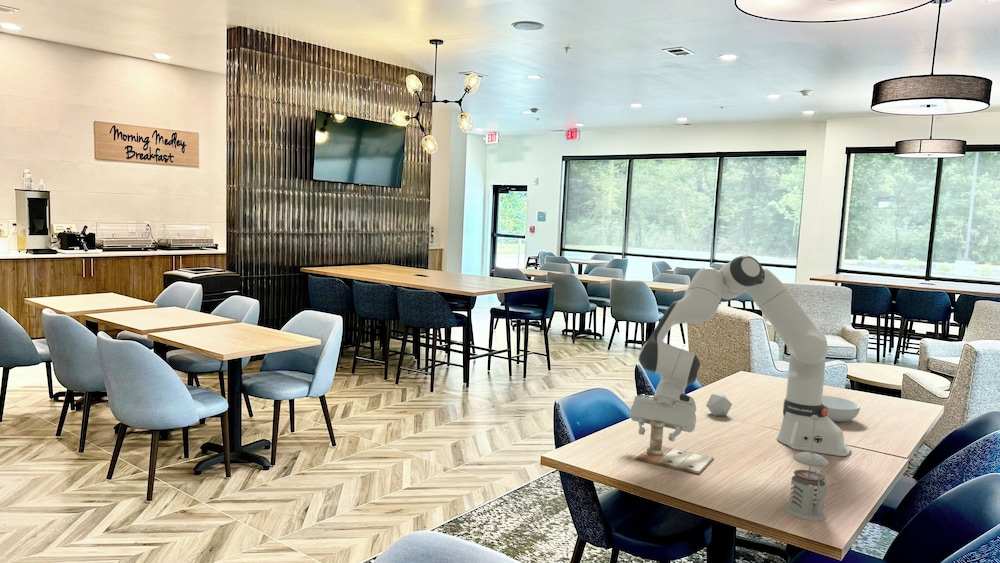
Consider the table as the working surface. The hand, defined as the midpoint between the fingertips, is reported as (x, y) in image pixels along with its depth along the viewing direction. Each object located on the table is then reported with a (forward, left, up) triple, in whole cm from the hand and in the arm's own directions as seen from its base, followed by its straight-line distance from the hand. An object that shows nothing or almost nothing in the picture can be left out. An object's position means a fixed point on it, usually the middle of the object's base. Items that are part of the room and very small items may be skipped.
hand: (655, 436), depth 209 cm
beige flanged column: (0, -1, -5) cm, 5 cm away
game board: (-6, -1, -6) cm, 9 cm away
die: (-4, -64, -6) cm, 64 cm away
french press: (-45, +17, -6) cm, 49 cm away
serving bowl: (-40, -90, -6) cm, 98 cm away
